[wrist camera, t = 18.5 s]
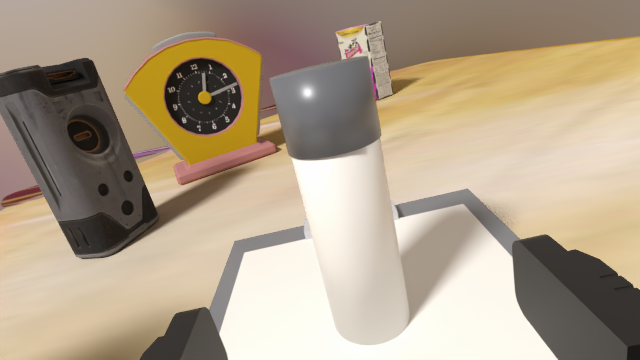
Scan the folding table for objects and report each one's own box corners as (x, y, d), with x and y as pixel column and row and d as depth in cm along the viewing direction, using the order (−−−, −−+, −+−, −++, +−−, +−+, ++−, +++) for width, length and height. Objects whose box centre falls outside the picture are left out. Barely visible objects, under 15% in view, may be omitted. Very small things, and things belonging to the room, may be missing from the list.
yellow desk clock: (162, 192, 60) (103, 49, 52) (160, 178, 68) (109, 53, 60) (292, 147, 66) (256, 14, 59) (276, 140, 75) (242, 22, 67)
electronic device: (110, 258, 41) (16, 67, 34) (70, 261, 43) (-27, 81, 36) (165, 216, 49) (98, 55, 42) (129, 220, 51) (59, 67, 44)
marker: (335, 354, 20) (263, 83, 16) (330, 299, 25) (273, 74, 20) (421, 337, 20) (375, 57, 15) (401, 284, 24) (361, 54, 20)
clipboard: (46, 781, 10) (16, 757, 10) (236, 246, 37) (231, 231, 36) (931, 655, 9) (954, 619, 8) (468, 194, 35) (466, 178, 35)
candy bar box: (348, 100, 96) (334, 31, 90) (363, 95, 98) (350, 27, 93) (378, 100, 87) (364, 24, 81) (394, 94, 89) (382, 19, 83)
